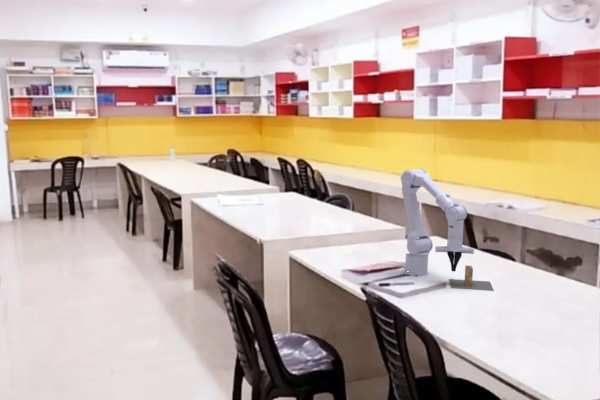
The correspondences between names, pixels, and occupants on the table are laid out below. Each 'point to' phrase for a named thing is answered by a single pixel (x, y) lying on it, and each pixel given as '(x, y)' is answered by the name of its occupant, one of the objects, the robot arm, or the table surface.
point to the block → (468, 275)
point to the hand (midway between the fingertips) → (453, 270)
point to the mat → (475, 285)
